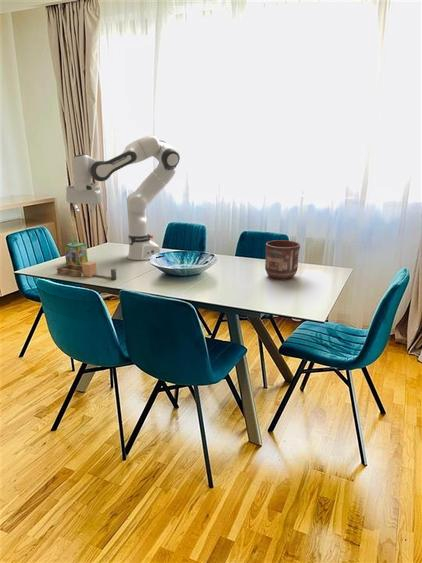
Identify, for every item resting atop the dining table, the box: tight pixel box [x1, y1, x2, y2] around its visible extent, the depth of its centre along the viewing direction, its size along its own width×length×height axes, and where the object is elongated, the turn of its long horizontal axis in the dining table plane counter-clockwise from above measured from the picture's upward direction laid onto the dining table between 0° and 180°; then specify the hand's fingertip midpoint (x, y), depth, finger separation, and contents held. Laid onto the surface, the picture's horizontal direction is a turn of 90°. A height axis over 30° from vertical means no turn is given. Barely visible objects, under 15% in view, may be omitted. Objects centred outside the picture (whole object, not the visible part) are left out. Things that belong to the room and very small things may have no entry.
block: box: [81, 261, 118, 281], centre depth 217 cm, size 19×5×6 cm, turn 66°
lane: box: [56, 264, 83, 278], centre depth 224 cm, size 15×9×3 cm, turn 66°
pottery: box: [264, 239, 301, 280], centre depth 218 cm, size 18×18×18 cm
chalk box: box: [63, 237, 89, 266], centre depth 240 cm, size 9×9×15 cm
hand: (85, 211), depth 227 cm, fingers open, 8 cm apart
